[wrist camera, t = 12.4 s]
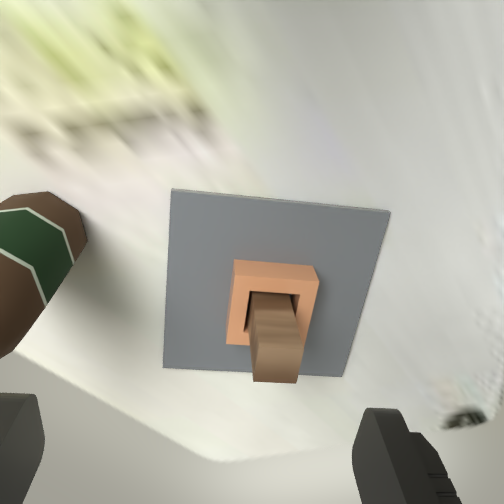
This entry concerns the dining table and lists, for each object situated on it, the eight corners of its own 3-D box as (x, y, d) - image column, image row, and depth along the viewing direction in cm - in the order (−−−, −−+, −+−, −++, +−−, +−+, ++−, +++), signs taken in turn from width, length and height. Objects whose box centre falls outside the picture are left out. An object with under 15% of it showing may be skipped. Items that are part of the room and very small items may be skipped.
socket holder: (171, 188, 37) (167, 202, 33) (388, 210, 39) (403, 225, 36) (163, 363, 45) (159, 388, 42) (340, 373, 48) (349, 397, 45)
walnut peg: (250, 279, 41) (259, 347, 32) (285, 282, 41) (304, 349, 32) (246, 309, 42) (253, 381, 33) (280, 311, 43) (296, 383, 34)
